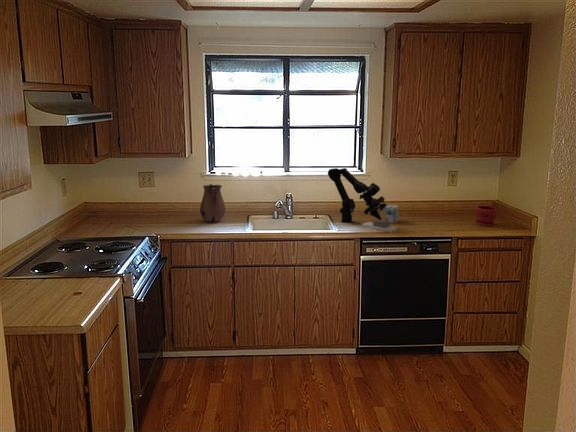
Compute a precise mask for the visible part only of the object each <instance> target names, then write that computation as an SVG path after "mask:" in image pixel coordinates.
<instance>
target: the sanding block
mask: <svg viewBox="0 0 576 432" xmlns="http://www.w3.org/2000/svg"><path fill="white" fill-rule="evenodd" d="M378 214H379V215H380V217H381V220H379V219H377V218H376V220H373V221H372V223H373V226H378V227H383V228H386V227H389V226H391V223H390V222H389V221H386V211H384V209H383V210H379V211H378Z"/></svg>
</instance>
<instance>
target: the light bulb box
mask: <svg viewBox="0 0 576 432" xmlns="http://www.w3.org/2000/svg"><path fill="white" fill-rule="evenodd" d="M383 210H384V211H386V221H389V222H390V224H395V223H398V222H399V214H400V206H399V205H395V204H389V205H387V206H386V207H385V208H384V209H383Z"/></svg>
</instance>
